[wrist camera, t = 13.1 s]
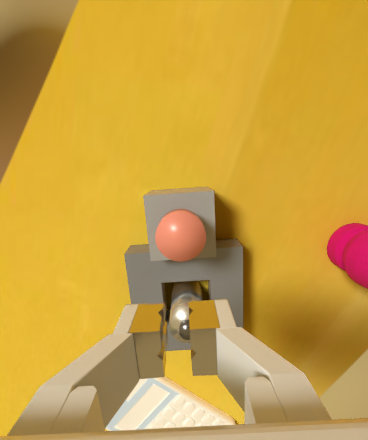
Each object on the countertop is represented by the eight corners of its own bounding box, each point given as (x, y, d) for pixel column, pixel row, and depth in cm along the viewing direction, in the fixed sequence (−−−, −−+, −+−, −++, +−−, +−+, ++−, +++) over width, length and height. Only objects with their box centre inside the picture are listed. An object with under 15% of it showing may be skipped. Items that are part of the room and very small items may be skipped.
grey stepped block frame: (123, 192, 26) (108, 197, 21) (236, 184, 26) (249, 188, 21) (142, 335, 31) (133, 369, 26) (237, 329, 31) (249, 363, 25)
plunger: (155, 210, 20) (152, 214, 18) (202, 207, 20) (204, 211, 18) (160, 254, 21) (157, 263, 19) (205, 251, 21) (207, 259, 19)
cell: (171, 277, 29) (166, 317, 21) (200, 275, 29) (206, 314, 21) (173, 303, 30) (170, 350, 22) (201, 301, 30) (208, 347, 22)
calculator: (188, 461, 38) (188, 477, 36) (93, 409, 35) (88, 423, 33) (237, 416, 35) (240, 430, 34) (139, 356, 33) (136, 368, 31)
